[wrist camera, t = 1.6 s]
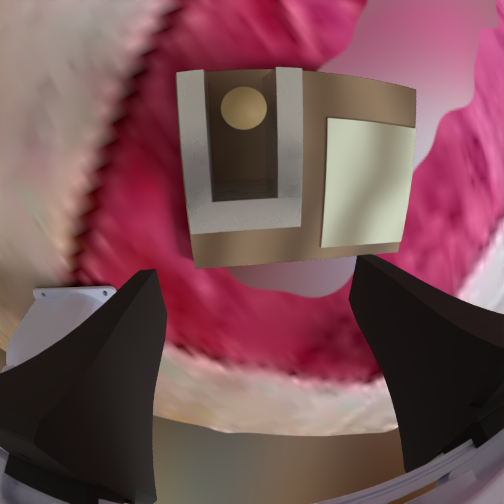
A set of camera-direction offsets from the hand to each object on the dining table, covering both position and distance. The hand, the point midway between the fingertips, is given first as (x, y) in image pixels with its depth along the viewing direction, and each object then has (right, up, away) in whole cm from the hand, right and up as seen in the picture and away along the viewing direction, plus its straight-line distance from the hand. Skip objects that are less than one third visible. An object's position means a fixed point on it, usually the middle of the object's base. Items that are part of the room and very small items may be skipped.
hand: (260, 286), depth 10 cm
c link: (-1, +8, +6) cm, 10 cm away
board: (+3, +7, +8) cm, 11 cm away
